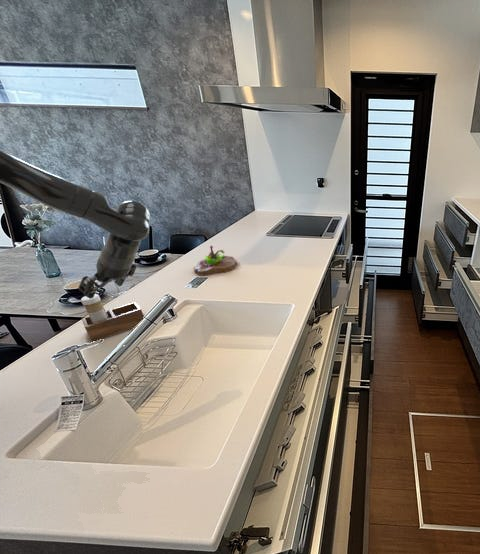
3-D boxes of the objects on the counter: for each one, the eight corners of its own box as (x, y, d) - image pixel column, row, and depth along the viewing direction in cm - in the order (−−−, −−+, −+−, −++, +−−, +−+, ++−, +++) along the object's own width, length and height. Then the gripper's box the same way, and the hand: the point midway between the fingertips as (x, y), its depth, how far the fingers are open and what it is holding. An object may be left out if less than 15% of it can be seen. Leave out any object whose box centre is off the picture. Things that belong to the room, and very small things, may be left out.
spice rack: (88, 333, 105) (81, 318, 103) (141, 315, 115) (135, 301, 113) (92, 342, 100) (84, 327, 98) (146, 323, 110) (141, 308, 108)
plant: (236, 257, 170) (232, 238, 165) (237, 270, 153) (232, 249, 149) (196, 263, 163) (191, 243, 158) (193, 277, 146) (186, 255, 142)
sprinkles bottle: (114, 325, 108) (99, 292, 102) (113, 331, 104) (97, 297, 99) (97, 330, 105) (81, 296, 100) (96, 336, 102) (79, 301, 96)
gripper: (131, 241, 92) (117, 272, 100) (78, 258, 80) (67, 291, 88) (150, 259, 93) (135, 288, 101) (100, 278, 80) (88, 309, 88)
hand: (104, 289), depth 94 cm, fingers open, 8 cm apart
